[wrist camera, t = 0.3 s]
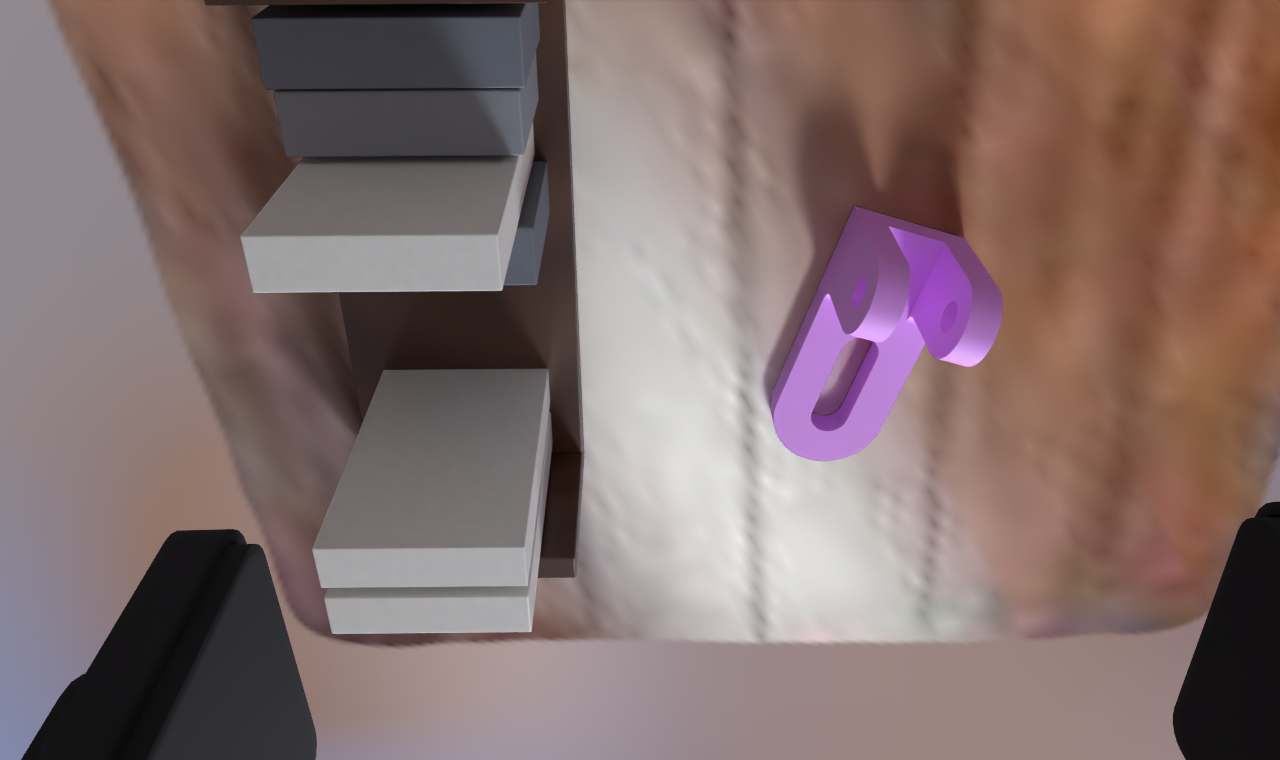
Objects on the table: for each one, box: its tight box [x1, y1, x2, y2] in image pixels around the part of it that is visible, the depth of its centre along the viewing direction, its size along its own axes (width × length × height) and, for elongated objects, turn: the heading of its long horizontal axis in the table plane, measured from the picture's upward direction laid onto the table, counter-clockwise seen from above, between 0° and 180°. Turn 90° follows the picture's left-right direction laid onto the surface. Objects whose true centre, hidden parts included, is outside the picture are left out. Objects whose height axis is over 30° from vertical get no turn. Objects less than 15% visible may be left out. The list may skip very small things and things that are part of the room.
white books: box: [312, 369, 553, 634], centre depth 45 cm, size 4×8×13 cm, turn 90°
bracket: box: [770, 206, 1003, 461], centre depth 47 cm, size 13×6×7 cm, turn 163°
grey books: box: [251, 3, 550, 285], centre depth 39 cm, size 10×9×7 cm
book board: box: [204, 0, 584, 578], centre depth 43 cm, size 26×11×9 cm, turn 0°
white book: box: [240, 123, 535, 293], centre depth 37 cm, size 2×8×13 cm, turn 90°
